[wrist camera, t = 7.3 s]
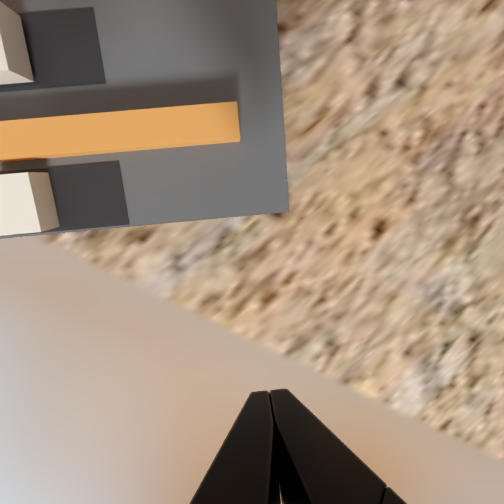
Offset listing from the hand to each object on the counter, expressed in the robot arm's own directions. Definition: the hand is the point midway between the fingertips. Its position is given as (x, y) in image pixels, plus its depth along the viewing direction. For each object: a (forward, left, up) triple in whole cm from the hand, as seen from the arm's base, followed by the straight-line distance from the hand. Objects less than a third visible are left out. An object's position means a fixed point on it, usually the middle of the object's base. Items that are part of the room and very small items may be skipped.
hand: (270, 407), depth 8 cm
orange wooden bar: (+8, -7, -9) cm, 14 cm away
